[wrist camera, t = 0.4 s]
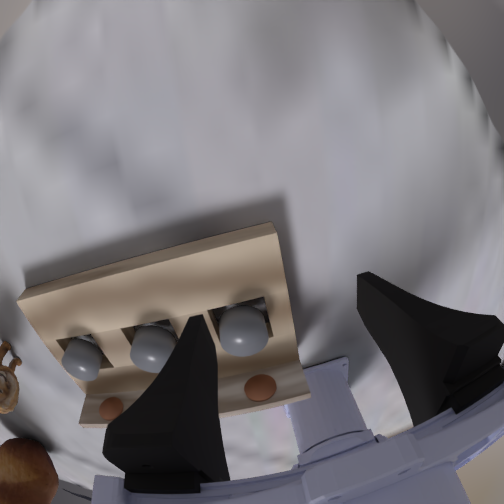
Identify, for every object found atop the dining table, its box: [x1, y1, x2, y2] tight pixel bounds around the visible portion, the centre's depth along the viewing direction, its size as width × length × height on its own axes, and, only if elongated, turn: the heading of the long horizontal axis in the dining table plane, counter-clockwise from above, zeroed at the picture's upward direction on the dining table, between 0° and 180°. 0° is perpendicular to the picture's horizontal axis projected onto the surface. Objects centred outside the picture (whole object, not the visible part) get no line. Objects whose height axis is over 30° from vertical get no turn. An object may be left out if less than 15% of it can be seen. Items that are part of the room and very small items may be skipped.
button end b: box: [61, 339, 103, 381], centre depth 22 cm, size 4×4×2 cm
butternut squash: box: [0, 438, 59, 504], centre depth 25 cm, size 14×13×25 cm
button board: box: [16, 222, 311, 428], centre depth 22 cm, size 14×23×6 cm, turn 102°
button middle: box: [130, 325, 176, 373], centre depth 22 cm, size 4×4×2 cm
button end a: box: [219, 305, 269, 357], centre depth 22 cm, size 4×4×2 cm
